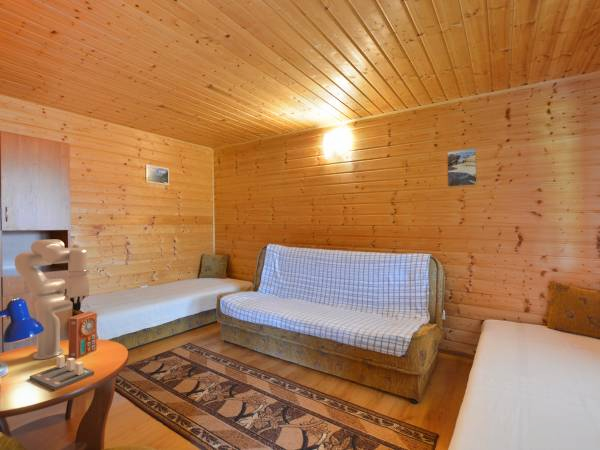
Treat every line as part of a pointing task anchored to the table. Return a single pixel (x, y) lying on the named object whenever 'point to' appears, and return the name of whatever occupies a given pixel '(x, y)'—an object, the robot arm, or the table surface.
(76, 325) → the control panel
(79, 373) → the block
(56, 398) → the table surface
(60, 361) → the breaker left
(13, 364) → the table surface
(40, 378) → the breaker panel
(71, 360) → the block
